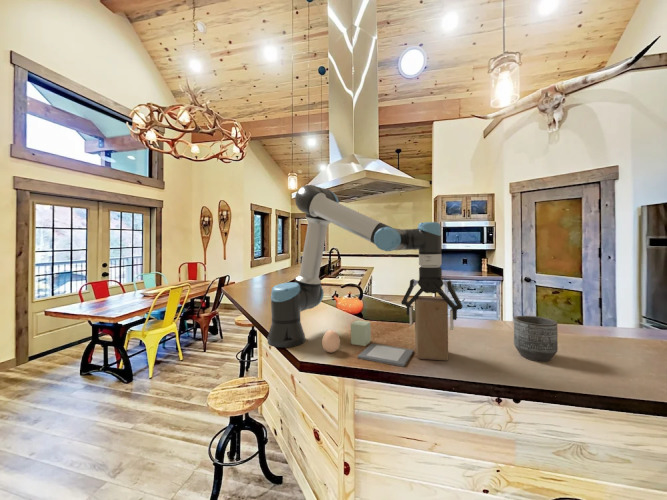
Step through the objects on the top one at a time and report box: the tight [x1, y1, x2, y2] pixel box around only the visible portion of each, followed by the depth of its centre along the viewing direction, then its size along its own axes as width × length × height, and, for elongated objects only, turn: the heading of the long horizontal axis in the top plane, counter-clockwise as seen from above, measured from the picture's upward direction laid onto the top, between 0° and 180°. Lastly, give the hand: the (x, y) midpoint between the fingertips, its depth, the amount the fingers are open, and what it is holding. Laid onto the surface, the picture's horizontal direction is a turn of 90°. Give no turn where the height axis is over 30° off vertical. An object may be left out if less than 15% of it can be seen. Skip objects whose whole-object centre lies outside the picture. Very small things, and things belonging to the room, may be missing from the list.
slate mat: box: [357, 342, 414, 368], centre depth 100 cm, size 16×14×1 cm
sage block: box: [350, 319, 372, 347], centre depth 113 cm, size 6×6×8 cm
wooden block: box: [414, 295, 449, 361], centre depth 99 cm, size 10×10×20 cm
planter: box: [513, 315, 559, 363], centre depth 96 cm, size 12×12×13 cm
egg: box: [321, 329, 341, 353], centre depth 103 cm, size 7×7×8 cm
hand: (431, 326), depth 99 cm, fingers open, 13 cm apart
